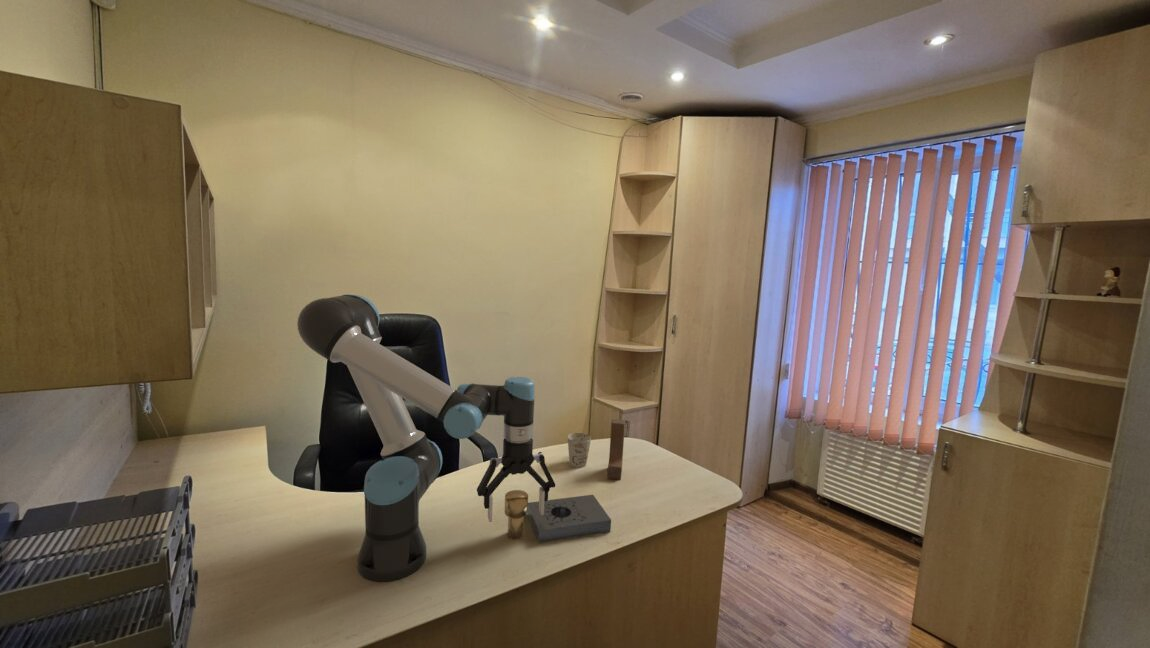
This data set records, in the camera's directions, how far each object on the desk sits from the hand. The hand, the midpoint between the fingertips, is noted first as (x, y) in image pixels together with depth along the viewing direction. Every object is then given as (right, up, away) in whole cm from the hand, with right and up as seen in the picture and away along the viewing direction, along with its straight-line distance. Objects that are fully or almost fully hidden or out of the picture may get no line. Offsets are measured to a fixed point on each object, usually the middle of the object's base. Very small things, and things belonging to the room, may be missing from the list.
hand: (516, 515), depth 123 cm
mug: (+17, 0, +47) cm, 50 cm away
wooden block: (+29, -2, +39) cm, 49 cm away
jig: (+13, -5, +7) cm, 16 cm away
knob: (0, -5, +1) cm, 5 cm away
